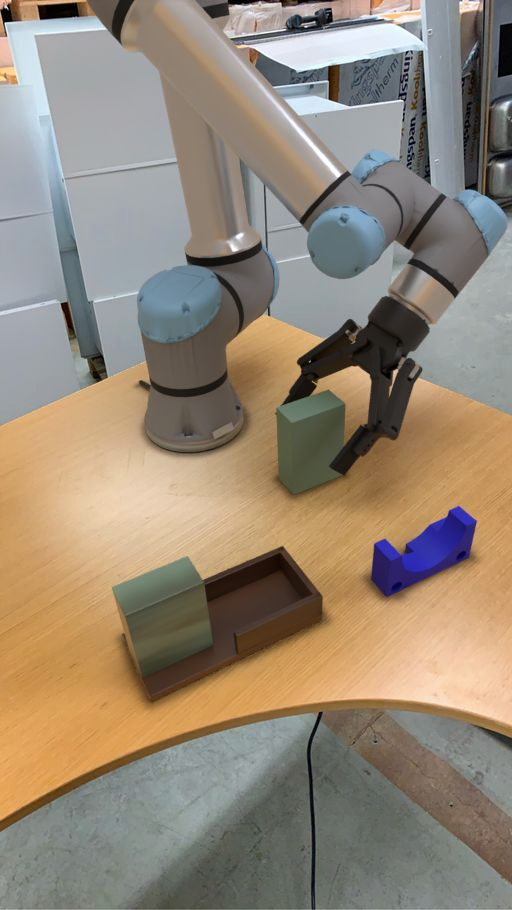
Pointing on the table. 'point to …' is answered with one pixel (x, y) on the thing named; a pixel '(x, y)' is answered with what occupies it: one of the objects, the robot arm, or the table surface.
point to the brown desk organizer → (211, 616)
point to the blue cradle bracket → (423, 553)
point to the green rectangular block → (309, 440)
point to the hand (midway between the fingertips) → (307, 443)
